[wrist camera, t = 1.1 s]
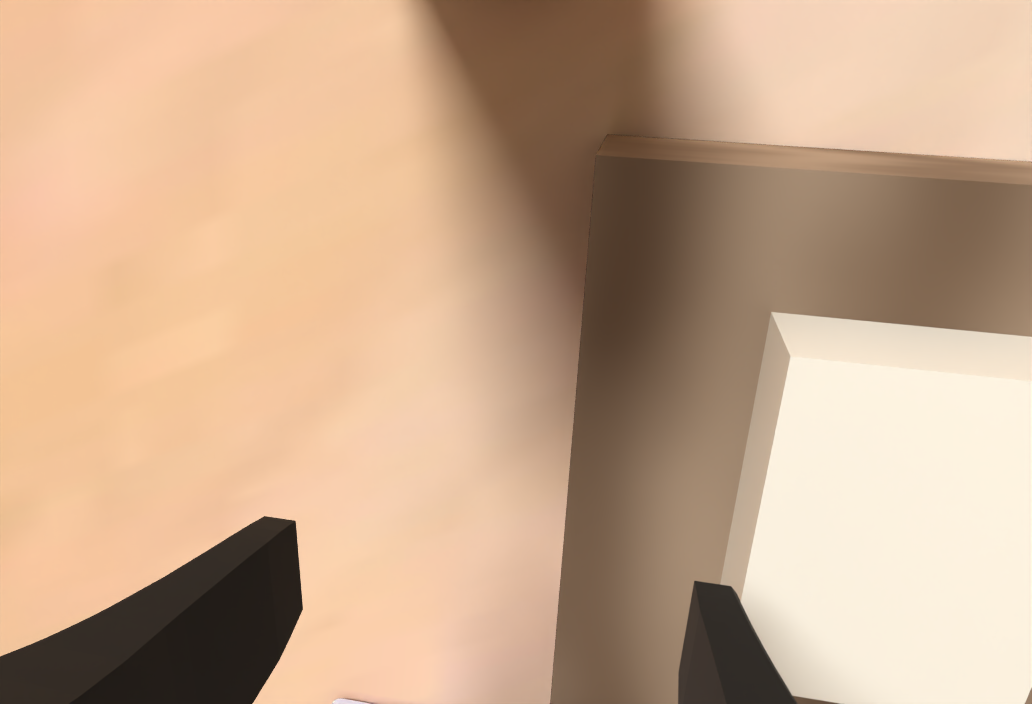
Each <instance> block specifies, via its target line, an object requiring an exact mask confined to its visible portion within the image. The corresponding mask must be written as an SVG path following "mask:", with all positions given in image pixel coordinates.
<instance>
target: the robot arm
mask: <svg viewBox="0 0 1032 704" xmlns="http://www.w3.org/2000/svg"><path fill="white" fill-rule="evenodd" d="M302 610H303V605H302V593H301V581H300V569H299V557H298V545H297V533H296V521H292V520H286V519H279V518H272V517H266V516H264V517H263V518H261V519H259V520H257V521H255V522H254V523H252V524H250V525H248V526H247V527H245V528H243V529H242V530H240V531H239V532H237V533H235V534H234V535H232V536H230V537H229V538H227V539H226V540H224V541H222V542H221V543H219V544H217V545H216V546H214V547H213V548H211V549H209V550H208V551H206V552H205V553H203V554H201V555H200V556H198V557H196V558H195V559H193V560H191V561H190V562H188V563H186V564H185V565H183V566H181V567H180V568H178V569H177V570H175V571H173V572H172V573H170V574H168V575H167V576H165V577H163V578H161V579H160V580H158V581H156V582H154V583H152V584H151V585H149V586H147V587H145V588H143V589H142V590H140V591H138V592H136V593H134V594H133V595H131V596H129V597H127V598H125V599H124V600H122V601H120V602H118V603H116V604H115V605H113V606H111V607H109V608H107V609H105V610H103V611H101V612H99V613H98V614H96V615H94V616H92V617H90V618H87V619H85V620H83V621H81V622H79V623H77V624H75V625H73V626H71V627H69V628H66V629H64V630H62V631H60V632H58V633H56V634H53V635H51V636H49V637H47V638H45V639H42V640H40V641H38V642H36V643H33V644H31V645H28V646H26V647H23V648H21V649H18V650H16V651H13V652H11V653H8V654H6V655H3V656H1V657H0V704H252V703H253V702H254V700H255V699H256V697H257V695H258V694H259V692H260V690H261V689H262V687H263V686H264V684H265V682H266V681H267V679H268V678H269V676H270V674H271V673H272V671H273V669H274V668H275V666H276V665H277V663H278V661H279V659H280V657H281V655H282V653H283V651H284V649H285V647H286V645H287V643H288V641H289V639H290V637H291V634H292V632H293V630H294V628H295V625H296V623H297V621H298V619H299V616H300V614H301V612H302ZM332 704H370V703H365V702H359V701H354V700H349V699H336V700H334V701H333V702H332ZM678 704H798V703H797V702H796V700H795V699H794V697H793V696H792V694H791V692H790V691H789V689H788V687H787V686H786V684H785V682H784V681H783V679H782V678H781V676H780V674H779V673H778V671H777V669H776V668H775V666H774V664H773V663H772V661H771V659H770V657H769V656H768V654H767V652H766V650H765V648H764V647H763V645H762V643H761V641H760V639H759V637H758V635H757V634H756V632H755V630H754V628H753V626H752V624H751V622H750V620H749V618H748V616H747V614H746V612H745V610H744V608H743V606H742V604H741V602H740V599H739V597H738V595H737V593H736V592H735V590H734V589H733V588H732V587H731V586H727V585H720V584H714V583H707V582H700V581H694V585H693V591H692V597H691V603H690V608H689V614H688V620H687V626H686V632H685V637H684V643H683V649H682V655H681V660H680V666H679V673H678Z"/></svg>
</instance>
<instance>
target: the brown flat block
mask: <svg viewBox="0 0 1032 704" xmlns="http://www.w3.org/2000/svg"><path fill="white" fill-rule="evenodd" d="M771 312H776V313H787V314H797V315H808V316H818V317H829V318H839V319H850V320H860V321H871V322H881V323H892V324H902V325H913V326H923V327H933V328H944V329H954V330H965V331H975V332H986V333H996V334H1007V335H1017V336H1028V337H1032V162H1026V161H1011V160H995V159H980V158H964V157H949V156H933V155H918V154H902V153H887V152H871V151H856V150H840V149H824V148H809V147H793V146H778V145H762V144H747V143H731V142H716V141H700V140H685V139H669V138H654V137H638V136H622V135H607V136H606V138H605V140H604V142H603V143H602V145H601V147H600V149H599V151H598V152H597V154H596V159H595V171H594V183H593V195H592V207H591V219H590V231H589V243H588V255H587V267H586V279H585V292H584V304H583V316H582V328H581V340H580V352H579V364H578V376H577V388H576V400H575V412H574V424H573V436H572V448H571V460H570V472H569V484H568V496H567V508H566V520H565V532H564V544H563V556H562V568H561V580H560V592H559V604H558V616H557V628H556V640H555V652H554V664H553V676H552V688H551V700H550V704H678V673H679V666H680V660H681V655H682V649H683V643H684V637H685V632H686V626H687V620H688V614H689V608H690V603H691V597H692V591H693V585H694V581H700V582H707V583H714V584H720V583H721V577H722V572H723V567H724V561H725V556H726V551H727V545H728V540H729V535H730V529H731V524H732V519H733V513H734V508H735V503H736V497H737V492H738V487H739V481H740V476H741V471H742V465H743V460H744V455H745V449H746V444H747V439H748V433H749V428H750V423H751V417H752V412H753V407H754V401H755V396H756V391H757V385H758V380H759V374H760V369H761V364H762V358H763V353H764V348H765V342H766V337H767V332H768V326H769V321H770V316H771ZM793 697H794V699H795V700H796V702H797V703H798V704H840V703H834V702H828V701H822V700H816V699H810V698H804V697H798V696H793ZM1025 704H1032V688H1031V690H1030V692H1029V695H1028V697H1027V700H1026V702H1025Z"/></svg>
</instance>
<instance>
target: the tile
mask: <svg viewBox="0 0 1032 704" xmlns="http://www.w3.org/2000/svg"><path fill="white" fill-rule="evenodd" d="M720 585H727V586H731V587H732V588H733V589H734V590H735V592H736V593H737V595H738V597H739V599H740V602H741V604H742V606H743V608H744V610H745V612H746V614H747V616H748V618H749V620H750V622H751V624H752V626H753V628H754V630H755V632H756V634H757V635H758V637H759V639H760V641H761V643H762V645H763V647H764V648H765V650H766V652H767V654H768V656H769V657H770V659H771V661H772V663H773V664H774V666H775V668H776V669H777V671H778V673H779V674H780V676H781V678H782V679H783V681H784V682H785V684H786V686H787V687H788V689H789V691H790V692H791V694H792V696H798V697H804V698H810V699H816V700H822V701H828V702H834V703H840V704H1025V702H1026V700H1027V697H1028V695H1029V692H1030V690H1031V688H1032V337H1028V336H1017V335H1007V334H996V333H986V332H975V331H965V330H954V329H944V328H933V327H923V326H913V325H902V324H892V323H881V322H871V321H860V320H850V319H839V318H829V317H818V316H808V315H797V314H787V313H776V312H771V316H770V321H769V326H768V332H767V337H766V342H765V348H764V353H763V358H762V364H761V369H760V374H759V380H758V385H757V391H756V396H755V401H754V407H753V412H752V417H751V423H750V428H749V433H748V439H747V444H746V449H745V455H744V460H743V465H742V471H741V476H740V481H739V487H738V492H737V497H736V503H735V508H734V513H733V519H732V524H731V529H730V535H729V540H728V545H727V551H726V556H725V561H724V567H723V572H722V577H721V583H720Z"/></svg>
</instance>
